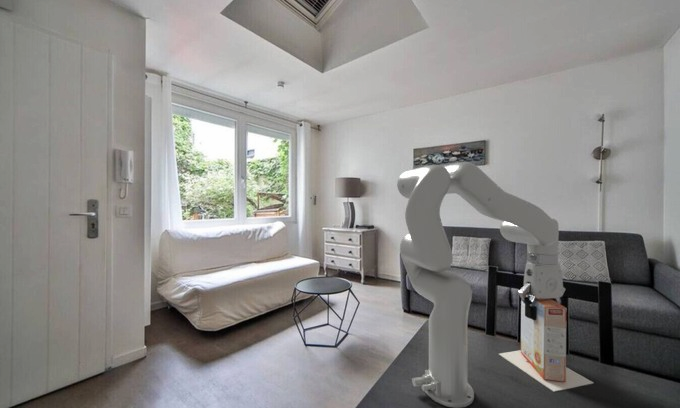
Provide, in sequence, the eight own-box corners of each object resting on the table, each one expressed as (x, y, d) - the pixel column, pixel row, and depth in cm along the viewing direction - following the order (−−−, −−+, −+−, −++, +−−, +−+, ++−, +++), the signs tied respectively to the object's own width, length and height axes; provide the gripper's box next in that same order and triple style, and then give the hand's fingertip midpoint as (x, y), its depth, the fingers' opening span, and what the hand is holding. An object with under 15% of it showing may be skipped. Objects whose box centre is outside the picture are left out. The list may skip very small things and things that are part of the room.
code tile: (553, 391, 71) (553, 390, 71) (498, 354, 88) (498, 353, 88) (593, 383, 74) (593, 382, 74) (532, 348, 92) (532, 348, 92)
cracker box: (567, 383, 74) (568, 307, 74) (542, 380, 75) (543, 305, 75) (540, 355, 88) (540, 290, 87) (519, 352, 89) (520, 289, 89)
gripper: (530, 263, 75) (530, 325, 76) (577, 260, 80) (577, 319, 80) (508, 257, 83) (507, 314, 83) (552, 255, 87) (552, 309, 87)
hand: (542, 316), depth 81 cm, fingers closed on cracker box, 8 cm apart
